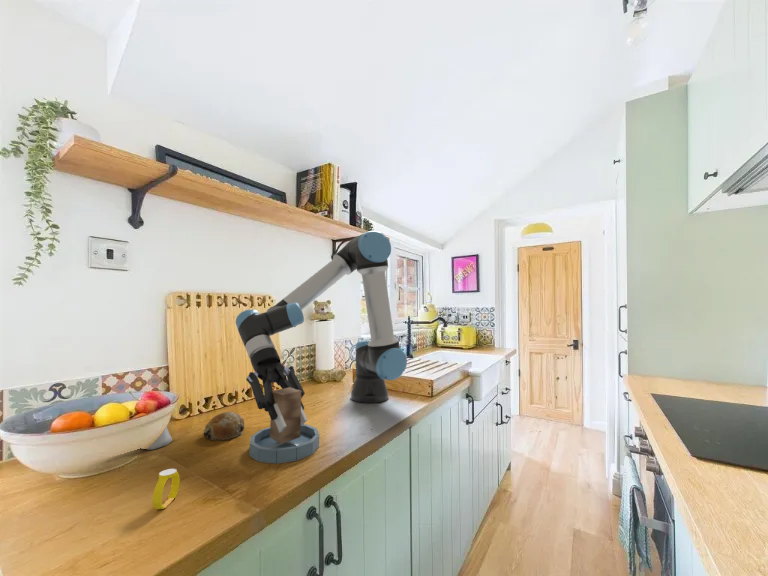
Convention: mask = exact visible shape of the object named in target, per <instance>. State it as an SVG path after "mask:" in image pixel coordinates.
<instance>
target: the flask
mask: <svg viewBox="0 0 768 576" xmlns="http://www.w3.org/2000/svg"><path fill="white" fill-rule="evenodd" d="M172 441H173V439H172V436H171V434H170V431H169V429H168V427H167V426H166V429H165V430H164V432H163V433H162V435H161V436H160V437H159V438H158V439H157V440H156V441H155V442H154V443H153V444H152V445H151V446H150V447H149V448H148V449H147V450H156V449H159V448H162V447H165V446H168V445H169V444H170V443H171V442H172Z"/></svg>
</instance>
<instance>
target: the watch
mask: <svg viewBox="0 0 768 576" xmlns="http://www.w3.org/2000/svg"><path fill="white" fill-rule="evenodd" d="M168 479H171V486H170V490H169V493H168V496H167V498H168V499H169V498H175V499H176V497H177V495H178V492H179V488H180V483H181V480H180V479H181V477H180V474H179V472H178V471H177V468H168V469H164V470H162V471H160V472H159V473H158V480H157V482H156V485H155V487H154V490H153V494H152V505H153V508H154V509H156V510H157V509H164V508H165V507H164V506H163V505H162V503H163V501H162V497H163V491H164V488H165V485H166V483H167V481H168ZM167 498H166V499H167Z"/></svg>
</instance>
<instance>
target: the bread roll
mask: <svg viewBox="0 0 768 576" xmlns="http://www.w3.org/2000/svg"><path fill="white" fill-rule="evenodd" d="M205 425H206V426H205V427H204V429H203V436H205V437H206V439H208V440H210V441H221V442H222V441H225V440H226V441H227V440H230V439H231V438H232V439H235V438H237V437H239V436H240V437H241V436H242V435H243V434H244V430H245V419H244V418H243V417H242V416H241V415H240V414H239V413H236V412H235V411H226V412H225V411H224V412H221V413H219V414H216V415H215V416H213V417H212V418H211V419H210V420H209V422H207V423H206V424H205ZM232 439H231V440H232Z"/></svg>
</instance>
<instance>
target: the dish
mask: <svg viewBox="0 0 768 576" xmlns="http://www.w3.org/2000/svg"><path fill="white" fill-rule="evenodd" d="M249 439H250V440H249V441H250V442H249V457H250V456H251V457H250V458H252V459H254V460H255V461H257V462H258V461H259V463H267V464H284V463H291V462H296V461H300V460H302V459H304V458H307V457H309V456H312V455H313V454H314V453H315V452H316V451H317V449H319V447H320V433H319V430H318V428H317V427H314V426H312V425H309V424H308V423H307V424H305V423H304V425H302V426H301V429H300V437H299V438H297V439H294V440H291V441H288V442H285V443H282V444H281V443H279V442H277V441H275V440H273V439H271V438H270V426H268V427H265V428H263V429H259V430H258V431H257V432H255V433H254V434H253V435H251V436H250V438H249Z"/></svg>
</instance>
